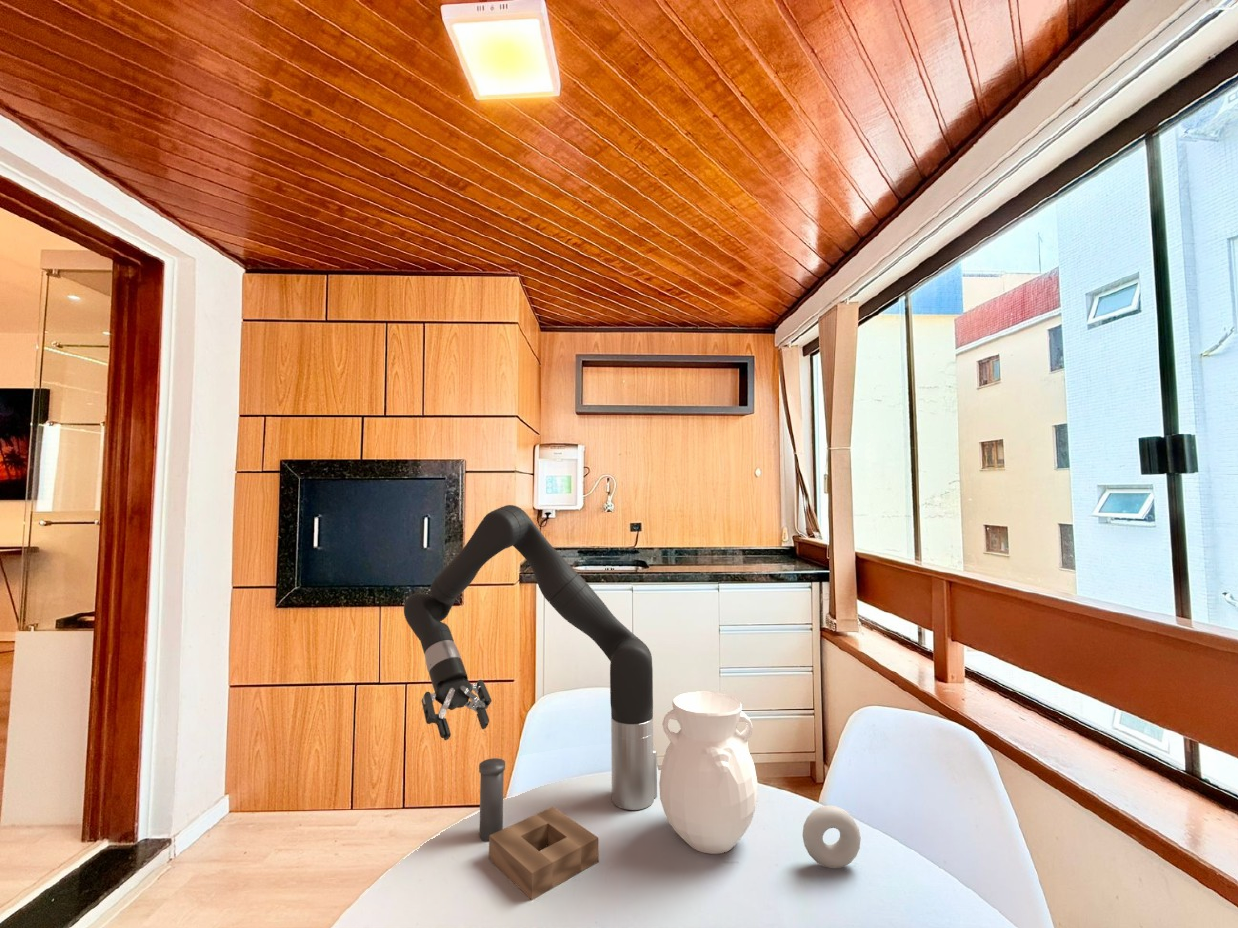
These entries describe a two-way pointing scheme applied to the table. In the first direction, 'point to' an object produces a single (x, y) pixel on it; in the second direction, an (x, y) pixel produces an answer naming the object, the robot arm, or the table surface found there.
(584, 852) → the socket block
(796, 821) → the table surface
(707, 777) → the white handled vase
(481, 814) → the plug
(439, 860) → the table surface
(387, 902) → the table surface
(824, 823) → the donut
